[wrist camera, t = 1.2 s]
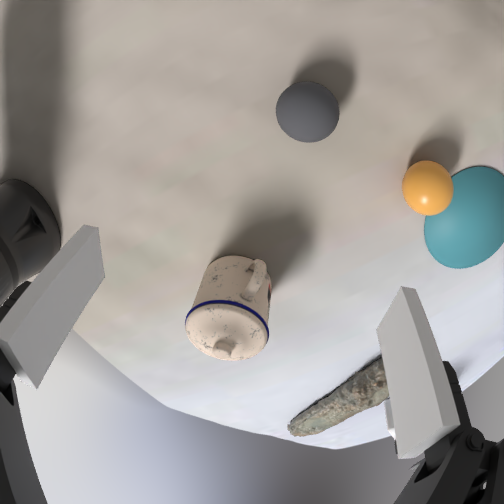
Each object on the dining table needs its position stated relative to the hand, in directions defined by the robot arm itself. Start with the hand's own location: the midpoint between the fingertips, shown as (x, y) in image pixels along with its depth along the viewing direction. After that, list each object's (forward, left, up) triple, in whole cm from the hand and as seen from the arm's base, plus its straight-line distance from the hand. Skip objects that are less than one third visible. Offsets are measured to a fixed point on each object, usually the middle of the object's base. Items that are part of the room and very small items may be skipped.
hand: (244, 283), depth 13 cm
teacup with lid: (+4, -16, -21) cm, 27 cm away
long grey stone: (+33, -33, -22) cm, 51 cm away
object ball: (+15, +5, -18) cm, 24 cm away
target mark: (+25, +5, -21) cm, 33 cm away
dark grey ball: (+1, +5, -18) cm, 19 cm away
